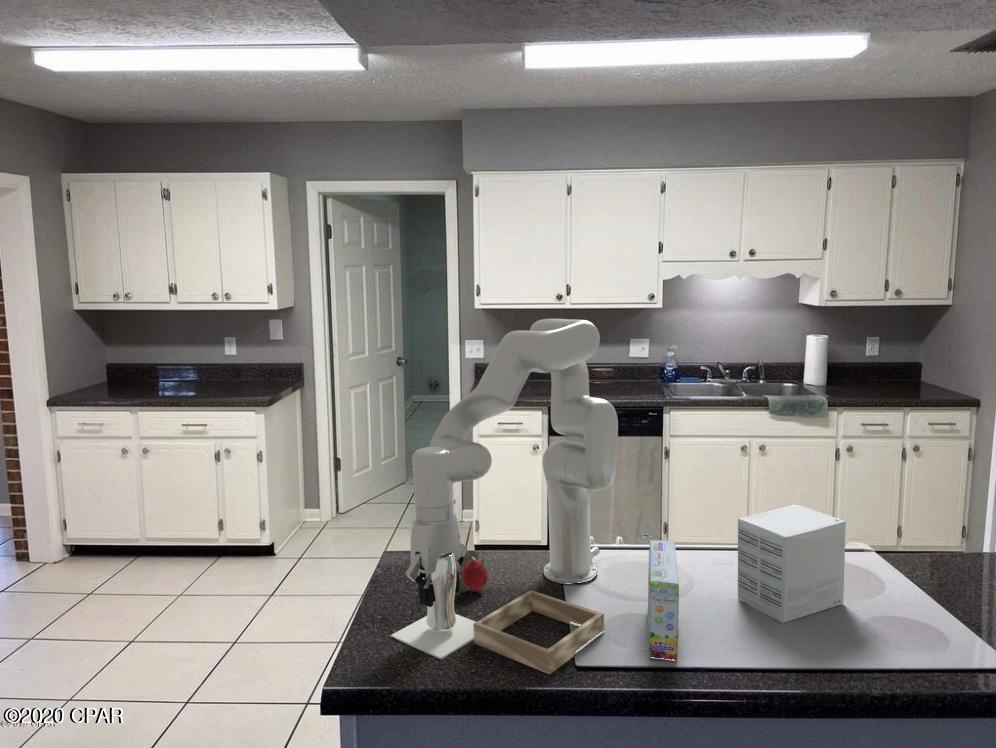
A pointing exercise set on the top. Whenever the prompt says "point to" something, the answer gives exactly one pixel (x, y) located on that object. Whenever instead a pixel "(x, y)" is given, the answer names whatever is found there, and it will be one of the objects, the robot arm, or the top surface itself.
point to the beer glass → (442, 595)
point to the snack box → (663, 600)
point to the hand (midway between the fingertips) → (439, 597)
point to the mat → (437, 637)
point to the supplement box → (791, 562)
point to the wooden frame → (529, 653)
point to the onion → (474, 575)
